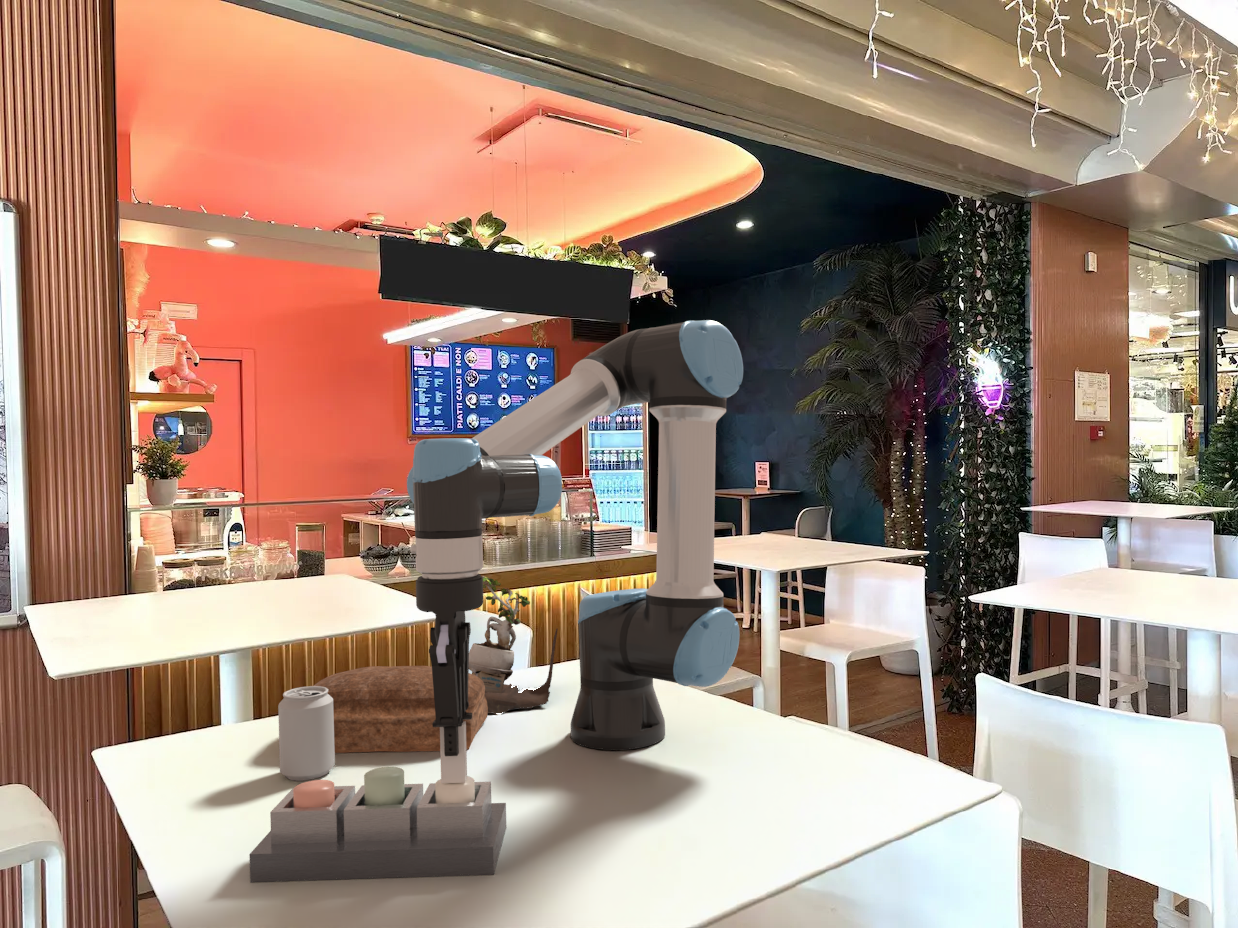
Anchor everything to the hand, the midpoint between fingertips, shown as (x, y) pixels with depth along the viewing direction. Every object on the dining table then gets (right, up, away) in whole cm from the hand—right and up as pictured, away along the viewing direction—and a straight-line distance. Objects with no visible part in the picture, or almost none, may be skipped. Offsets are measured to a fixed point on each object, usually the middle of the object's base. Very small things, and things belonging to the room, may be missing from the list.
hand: (454, 780), depth 100 cm
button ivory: (0, -5, 0) cm, 5 cm away
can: (-26, -9, +27) cm, 38 cm away
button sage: (-8, -4, 0) cm, 9 cm away
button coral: (-16, -5, 0) cm, 17 cm away
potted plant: (-3, -8, +64) cm, 65 cm away
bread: (-18, -9, +43) cm, 47 cm away
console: (-8, -8, 0) cm, 11 cm away
